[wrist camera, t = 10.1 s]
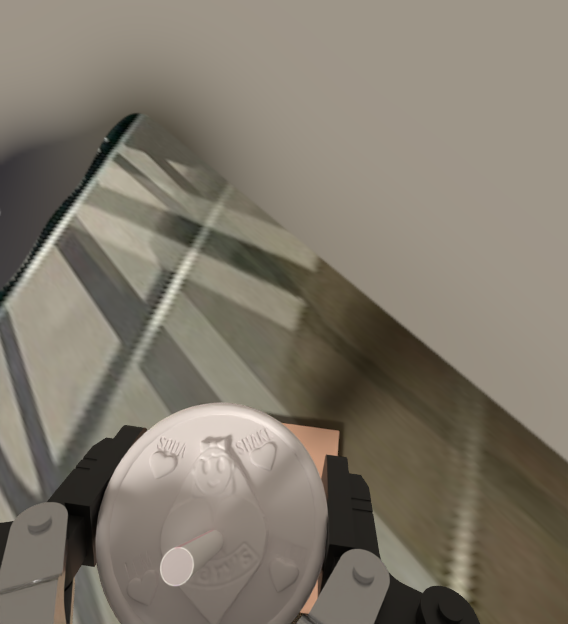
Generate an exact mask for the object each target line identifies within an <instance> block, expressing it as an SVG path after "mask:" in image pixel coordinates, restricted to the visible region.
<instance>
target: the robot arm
mask: <svg viewBox="0 0 568 624" xmlns="http://www.w3.org/2000/svg"><path fill="white" fill-rule="evenodd" d="M145 432H147V429H146V428H142V427H135V426H128V425H124V426H123V427H122V428H121V429H120V431H119V432H118V433H117V435H116V436H115V437H114V439H112V438H105V439H103V440H102V441H100V442H99V443H97V444H96V445H94V446H92V448H91V449H90V450H89V451H88V453H87V454H86V455H85V456H84V458H83V460H81V461H80V462H79V463H78V465H77V466H76V469H74V470H73V471H72V472H71V473H70V474H69V476H68V477H67V478H66V479H65V480H64V482H63V483H62V484H61V485H60V487H59V488H58V489H57V490H56V491H55V493H54V494H53V495H52V496H51V497H50V499H49V500H48V501H47V502H46V503H41V504H37V505H35V506H32V507H30V508H28V509H27V510H25V511H24V512H22V513H21V514H20V515H19V516H18V517H17V518H16V519H15V520H14V521H11V522H4V523H0V624H72V620H73V604H74V589H75V578H74V577H75V575H76V573H77V572H78V570H79V568H80V567H81V565H86V566H92V567H95V565H96V563H97V560H96V528H97V521H98V515H99V511H100V506H101V502H102V499H103V496H104V493H105V490H106V488H107V486H108V483H109V481H110V479H111V477H112V475H113V473H114V471H115V469H116V468H117V466H118V464H119V463H120V461H121V460H122V458H123V457H124V456H125V454H126V453H127V452H128V450H129V449H130V448H131V447H132V446H133V444H134V443H135V442H136V441H137V440H138V439H139V438H140V437H141V436H142V435H143V434H144V433H145ZM321 480H322V483H323V487H324V491H325V495H326V501H327V508H328V527H327V540H326V552H325V558H324V562H323V565H322V569H321V572H320V575H319V577H318V598H317V600H316V602H315V604H314V605H313V607H312V609H311V611H310V612H309V614H308V615H306V614H304V615H302V616H301V618H300V619H299V620H298V622H297V624H480V623H479V620H478V618H477V616H476V614H475V612H474V610H473V608H472V607H471V606H470V604H469V603H468V602H467V601H466V600H465V599H464V598H463V597H462V596H461V595H459V594H458V593H457V592H455V591H453V590H451V589H449V588H447V587H443V586H432V587H429V588H427V589H426V590H425V591H424V592H423V593H421V592H419V591H417V590H415V589H413V588H411V587H409V586H406V585H405V584H403V583H401V582H399V581H398V580H397V579H395V578H394V577H393V576H392V575H391V574H390V573H389V572H388V570H387V568H386V566H385V565H384V563H383V562H382V561H381V558H380V554H379V548H378V542H377V536H376V529H375V523H374V517H373V514H372V512H373V510H372V504H371V498H370V492H369V487H368V485H367V484H366V482H365V481H364V479H363V478H362V476H361V475H357V474H350V473H349V471H348V461H347V457H341V456H334V455H327V454H326V456H325V460H324V466H323V472H322V477H321Z"/></svg>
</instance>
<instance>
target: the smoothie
mask: <svg viewBox="0 0 568 624" xmlns="http://www.w3.org/2000/svg"><path fill="white" fill-rule="evenodd" d="M327 527H328V508H327V501H326V495H325V491H324V487H323V483H322V480H321V478H320V475H319V472H318V470H317V468H316V465H315V463H314V461H313V459H312V458H311V456H310V454H309V452H308V451H307V450H306V448H305V447H304V445H303V444H302V443H301V441H300V440H299V439H298V438H297V437H296V436H295V435H294V434H293V433H292V432H291V431H290V430H289V429H288V428H287V427H286V426H285V425H283V424H282V423H281V422H279V421H278V420H276V419H275V418H273V417H272V416H270V415H268V414H266V413H264V412H262V411H259V410H257V409H254V408H251V407H248V406H244V405H239V404H233V403H210V404H202V405H198V406H193V407H190V408H187V409H184V410H181V411H179V412H177V413H174V414H172V415H171V416H169V417H167V418H165V419H163V420H162V421H160V422H159V423H157V424H156V425H154V426H153V427H152V428H150V429H149V430H148V431H147V432H145V433H144V434H143V435H142V436H141V437H140V438H139V439H138V440H137V441H136V442H135V443H134V444H133V446H132V447H131V448H130V449H129V450H128V452H127V453H126V454H125V456H124V457H123V458H122V460H121V461H120V463H119V464H118V466H117V468H116V469H115V471H114V473H113V475H112V477H111V479H110V481H109V483H108V486H107V488H106V490H105V493H104V496H103V499H102V502H101V506H100V511H99V515H98V521H97V528H96V560H97V568H98V573H99V577H100V582H101V585H102V588H103V591H104V594H105V596H106V598H107V601H108V603H109V605H110V607H111V609H112V611H113V612H114V614H115V616H116V617H117V619H118V620H119V622H120V623H121V624H291V623H292V622H293V620H294V619H295V618H296V617H297V615H298V614H299V613H300V611H301V610H302V609H303V607H304V605H305V604H306V602H307V600H308V599H309V597H310V595H311V593H312V591H313V589H314V587H315V585H316V582H317V580H318V577H319V575H320V572H321V569H322V565H323V562H324V558H325V552H326V540H327Z"/></svg>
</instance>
